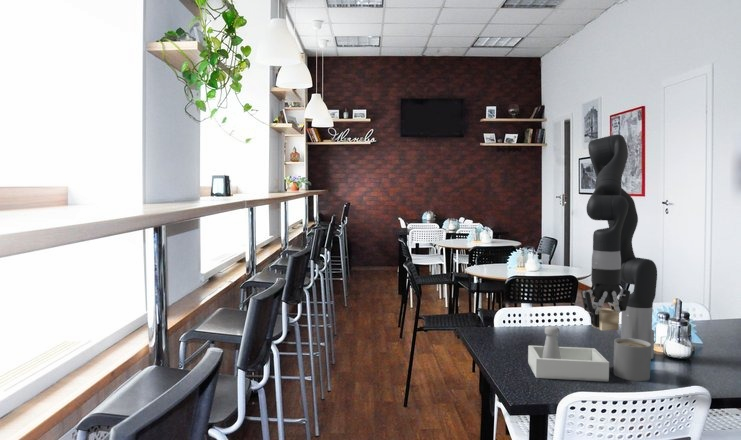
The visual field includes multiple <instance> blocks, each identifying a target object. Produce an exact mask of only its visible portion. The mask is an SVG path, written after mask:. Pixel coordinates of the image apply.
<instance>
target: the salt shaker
mask: <svg viewBox="0 0 741 440" xmlns="http://www.w3.org/2000/svg"><path fill="white" fill-rule="evenodd" d="M544 334H545V335H546V337H545V341H544V345H543V346H544V350H543V355H542V358H549V359H561V356H560V351H559V347H560V346H559V340H558V336H559V335H560V328H559V327H556V326H553V325H548V326H545V328H544Z"/></svg>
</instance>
